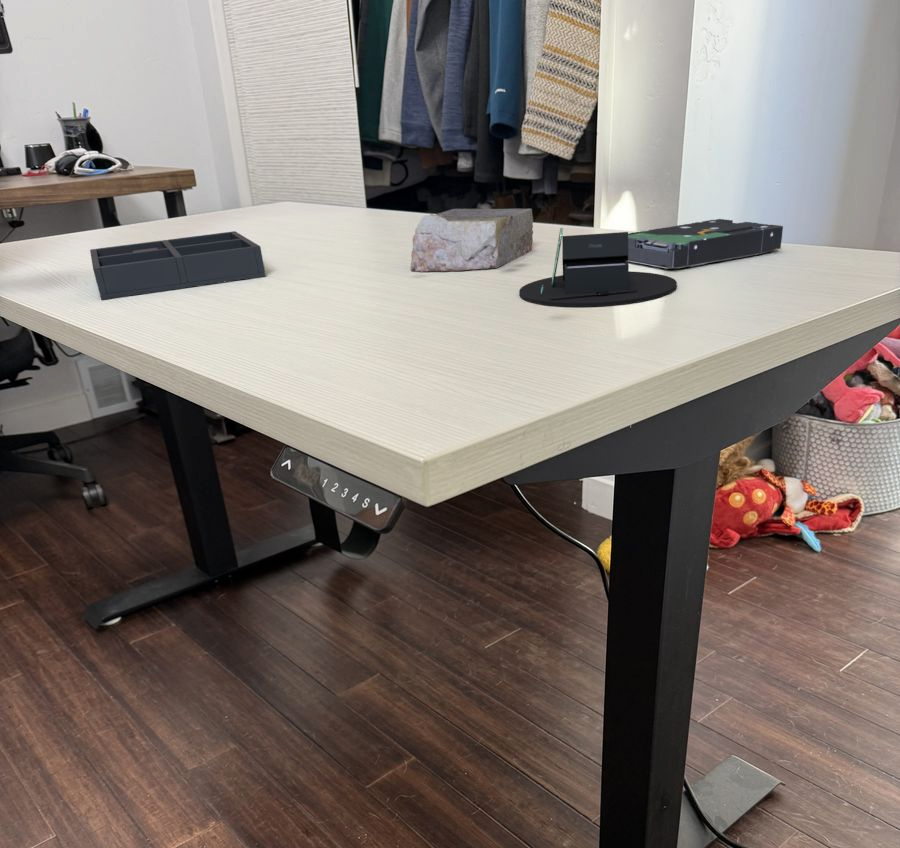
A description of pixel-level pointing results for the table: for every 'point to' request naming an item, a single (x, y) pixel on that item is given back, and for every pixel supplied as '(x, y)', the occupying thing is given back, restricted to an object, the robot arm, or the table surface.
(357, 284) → the table surface
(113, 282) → the tray
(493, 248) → the geological specimen
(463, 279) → the table surface
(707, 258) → the disk drive
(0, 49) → the robot arm
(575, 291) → the black display stand
